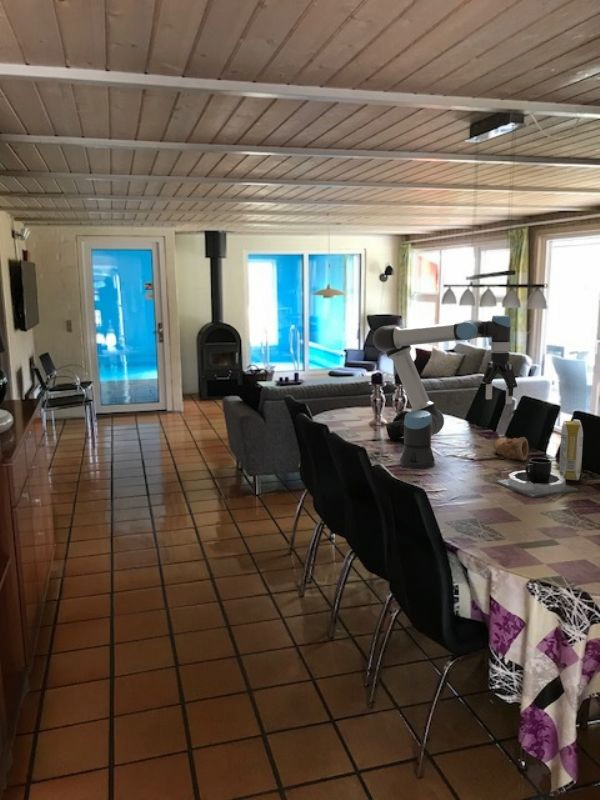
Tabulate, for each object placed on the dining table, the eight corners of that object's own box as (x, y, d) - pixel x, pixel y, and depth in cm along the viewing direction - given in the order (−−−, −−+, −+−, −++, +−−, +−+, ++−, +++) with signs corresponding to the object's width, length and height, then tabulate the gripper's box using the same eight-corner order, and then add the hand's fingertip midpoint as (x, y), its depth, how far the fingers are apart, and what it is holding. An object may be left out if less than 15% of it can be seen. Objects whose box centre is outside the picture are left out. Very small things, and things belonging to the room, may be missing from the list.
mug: (516, 484, 245) (517, 460, 244) (537, 479, 251) (538, 456, 250) (533, 490, 238) (534, 465, 237) (555, 485, 244) (556, 461, 243)
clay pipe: (500, 469, 283) (534, 461, 279) (493, 447, 282) (527, 438, 278) (497, 458, 301) (529, 450, 297) (490, 437, 300) (522, 429, 296)
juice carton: (580, 481, 251) (584, 422, 247) (559, 479, 254) (562, 421, 250) (579, 475, 260) (582, 418, 256) (558, 473, 262) (561, 417, 258)
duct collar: (532, 497, 232) (533, 487, 231) (496, 482, 251) (496, 473, 250) (577, 491, 239) (578, 481, 238) (539, 476, 258) (539, 467, 258)
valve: (393, 429, 306) (381, 415, 335) (400, 456, 309) (388, 441, 338) (436, 416, 306) (421, 404, 335) (443, 444, 309) (427, 429, 338)
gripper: (527, 353, 257) (525, 405, 260) (489, 349, 280) (487, 396, 284) (512, 354, 255) (510, 406, 258) (475, 350, 278) (473, 397, 281)
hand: (498, 401), depth 271 cm, fingers open, 13 cm apart
